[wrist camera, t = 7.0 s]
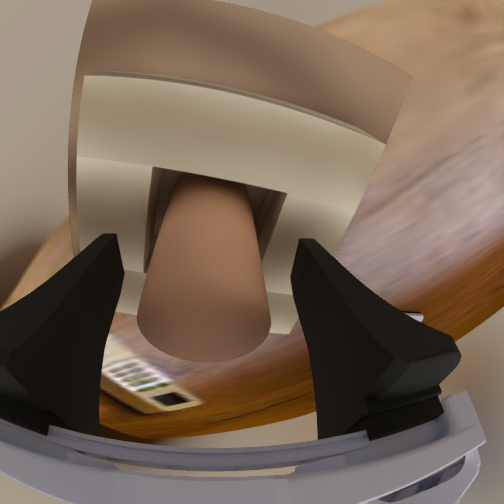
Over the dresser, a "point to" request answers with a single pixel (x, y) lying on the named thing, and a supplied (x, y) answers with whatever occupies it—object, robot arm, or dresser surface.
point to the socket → (222, 128)
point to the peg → (206, 275)
